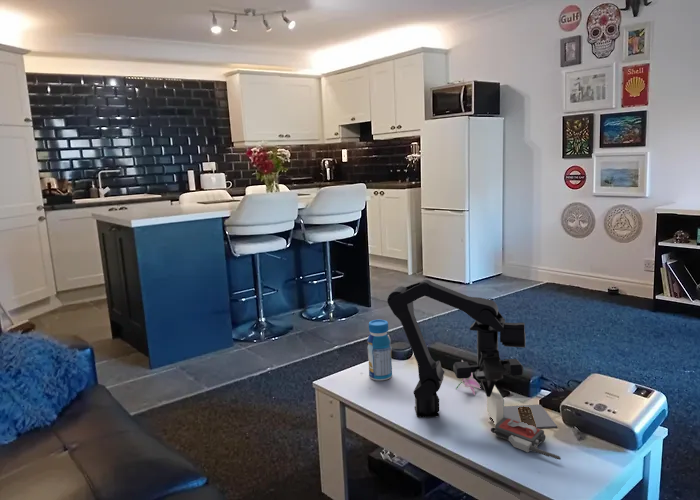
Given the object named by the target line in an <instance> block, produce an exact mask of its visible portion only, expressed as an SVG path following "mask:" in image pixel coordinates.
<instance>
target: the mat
mask: <svg viewBox="0 0 700 500" xmlns="http://www.w3.org/2000/svg"><path fill="white" fill-rule="evenodd" d="M523 406H524V407H529V408H531V410H532V413H533V416H534V420H535V423H536V427H537V428H538V429H550V428H551V429H553V428H558V425H557V424H556V423H555V421H554V420H553V419H552V417H551V416H550V415H549V413H548V412H547V411H546V409H545V408H544V407H543V406H542V405H541V404H525V405H524V404H523V405H506V406H505V405H504V418H509V419H512V420H515V421H518V422H520V418H519V414H518V408H519V407H523Z"/></svg>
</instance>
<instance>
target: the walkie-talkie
mask: <svg viewBox="0 0 700 500" xmlns="http://www.w3.org/2000/svg"><path fill="white" fill-rule="evenodd" d="M490 433H493V434H495V436H496V437H497V438H501V439H503V440H506V441H508V442H509V443H511V445H512V447H514V448H516V449H519V450H522V451H524V452H526V453H529V452H533V453H534V452H535V453H537V454H540V455H543V456H546V457H550V458H553V459H556V460H561V459H562V458H561V456H559V455H557V454H554V453H551V452H549V451H546V450H543V449H540V448H538V446H539V445H540V444H541V443H544V442H545V441H546V434H545V430H543V429H542V428H536V427H535V426H533V425H528V424H527V423H524V422H518V421H515V420H512V419H509V418H503V419H502V420H500V421H499V422H498V423H497V424H496V425H494V427H491V428H490Z"/></svg>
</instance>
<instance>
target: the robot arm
mask: <svg viewBox="0 0 700 500" xmlns="http://www.w3.org/2000/svg"><path fill="white" fill-rule="evenodd" d="M423 297H427V298H430V299H432V300H435V301H437V302H439V303H442V304H445V305H447V306H450V307H452V308H455V309H457V310H460V311H462V312H464V313H465V314H466V315H468V316H469V317H470V318H472V320H474V322H473V323H472V324H471V325H470V327H469V330H470V331H472V332H473V331H476V352H477V353H476V355H477V356H476V357H477V358H476V363H477V364H475V365H472V364H471V365H470V364H469V362H468V361H463V362H462V361H455V362H454V363H453V365H452V366H453V373H454V375H455V377H456V378H457V379H463V378H469V377H470V376H471V372H472V374H473V376H475V378H476V379H477V380H479V381H480V382H481V384H482V388H483V391H484V393H485V395H486V398H487V397H490V395H491V393H492V390H493V388H494V385H495V386H496V383H497V382H498V381H501V380H503V379H504V375H505V376H506V375H509V374H510V375H512V376H513V377H514V376H523V375H524V366H523V364H522V363H521V362H520V361H519V359H517V358H508V359H507V358H506V359H504V360H503V359H501V358H500V351H499V342H500V343H501V345H503V347H506V348H507V347H508V348H523V349H524V348H526V331H525V330H526V327H525V325H526V323H525V322H506V319H505V318H504V316H503V315H502V314H501V313H500V311H499V307H498V305H497V303H496V302H495V301H494V300H492V299H489V298H483V297H476V296H469V295H466V294H463V293H461V292H458V291H456V290H453V289H451V288H448V287H445V286H443V285H440V284H438V283H435V282H432V281H431V280H430V279H423V280H421V281H418V282H417V283H412V284H410V285H407V286H403V285H401V286H397V287H395V288H394V289H393V291H392V292H391V293H390V294H388V297H387V299H386V301H387V304H388V307H389V308H390V310H391V311H392V313H393V315H394V316H395V317H396V318H397V319H398V320H399V321H400V323H401V325H402V328H403V331H404V333H405V335H406V338H407V341H408V344H409V346H410V348H411V351H412V354H413V356H414V359H415V361H416V363H417V368H418V371H417V372H418V379H419V380H418V382H417V384H416V386H415V388H414V390H413V396H414V401H415V402H414V403H415V404H414V410H415V415H416V418H435V417H439V416H440V414H439V412H440V398H439V396H438V394H437V392H439V390H440V388H441V387H442V386H441V385H442V383H443V381H444V375H445V370H444V369H443V367H442V364H441V360H437V361H435V360H434V359H433V358H432V356H431V354H430V350H429V349H428V346H427V344H426V341H425V339H424V336H423V334H422V331H421V328H420V326H419V324H418V321H417V318H416V316H415V312H414V310H415V309H414V302H415V301H417V300H418V299H421V298H423Z"/></svg>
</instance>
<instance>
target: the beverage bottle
mask: <svg viewBox="0 0 700 500" xmlns="http://www.w3.org/2000/svg"><path fill="white" fill-rule="evenodd" d="M368 332H369V335H368V337H367V344H368V345H367V346H366V347H367V349H366V351H367V357H368V376H369V378H370V379H371V380H374V381H378V382H379V381H380V382H383V381H387V380H389V379H391V378H392V377H393V366H392V365H393V364H392V350H393V349H392V345H391V342H392V340H391V337H390V335H389V333H388V332H389V322H388V321H387V320H384V319H372V320H370V321H369V322H368Z"/></svg>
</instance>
